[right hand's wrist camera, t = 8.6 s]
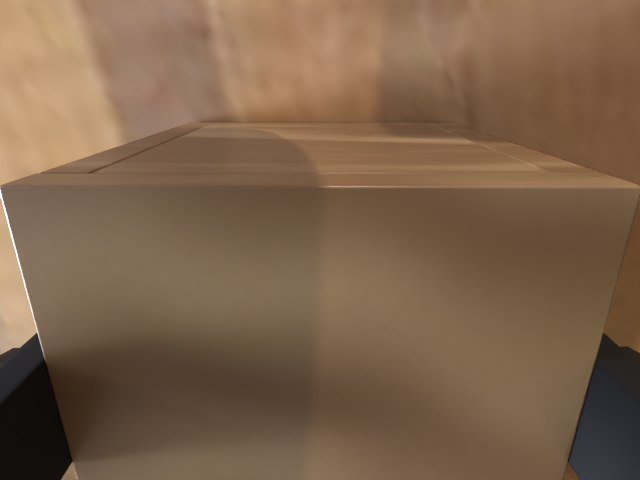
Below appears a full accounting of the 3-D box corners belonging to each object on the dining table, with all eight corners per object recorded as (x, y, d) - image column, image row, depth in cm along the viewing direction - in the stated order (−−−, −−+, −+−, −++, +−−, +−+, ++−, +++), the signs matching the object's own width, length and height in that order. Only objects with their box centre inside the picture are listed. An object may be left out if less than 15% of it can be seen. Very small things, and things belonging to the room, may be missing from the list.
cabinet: (412, 501, 26) (477, 800, 15) (227, 501, 26) (162, 800, 15) (452, 122, 18) (644, 185, 7) (188, 122, 18) (-5, 185, 7)
